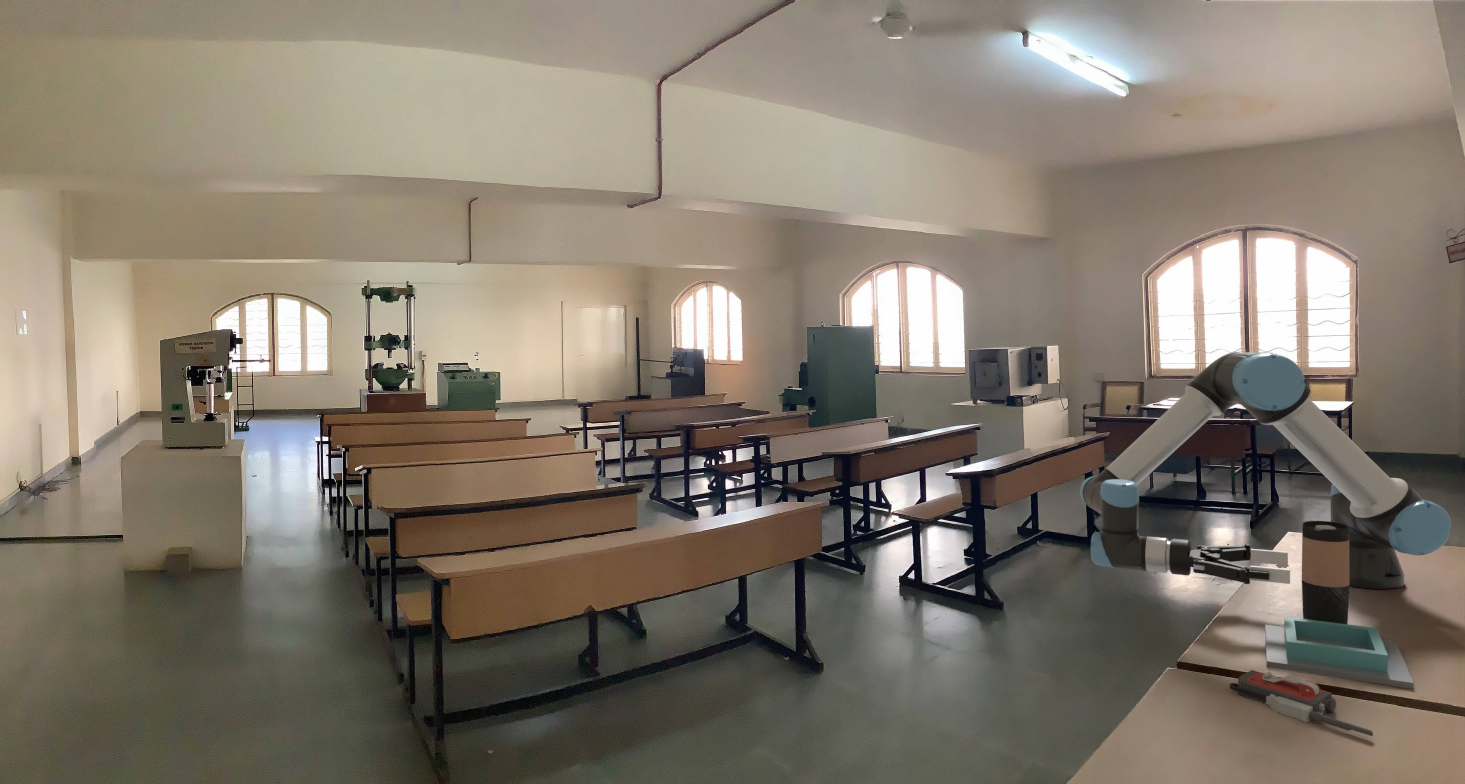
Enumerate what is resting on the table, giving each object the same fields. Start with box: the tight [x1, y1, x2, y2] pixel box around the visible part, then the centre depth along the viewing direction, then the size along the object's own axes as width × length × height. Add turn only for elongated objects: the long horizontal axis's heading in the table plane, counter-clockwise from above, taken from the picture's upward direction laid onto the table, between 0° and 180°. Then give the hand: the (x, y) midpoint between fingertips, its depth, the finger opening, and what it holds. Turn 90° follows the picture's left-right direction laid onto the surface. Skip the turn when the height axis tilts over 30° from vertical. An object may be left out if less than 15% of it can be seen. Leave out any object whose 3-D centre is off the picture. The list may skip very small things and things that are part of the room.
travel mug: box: [1301, 520, 1350, 625], centre depth 160 cm, size 8×8×20 cm
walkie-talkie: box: [1229, 669, 1374, 737], centre depth 127 cm, size 9×4×20 cm
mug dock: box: [1264, 616, 1415, 690], centre depth 146 cm, size 20×20×4 cm
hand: (1289, 567), depth 163 cm, fingers open, 13 cm apart
